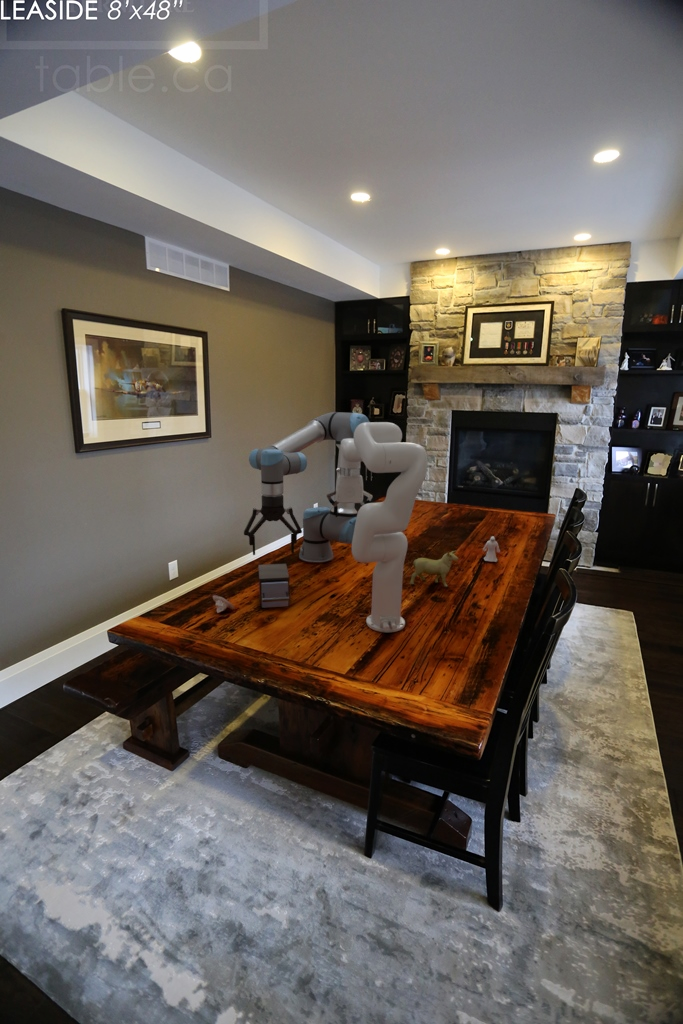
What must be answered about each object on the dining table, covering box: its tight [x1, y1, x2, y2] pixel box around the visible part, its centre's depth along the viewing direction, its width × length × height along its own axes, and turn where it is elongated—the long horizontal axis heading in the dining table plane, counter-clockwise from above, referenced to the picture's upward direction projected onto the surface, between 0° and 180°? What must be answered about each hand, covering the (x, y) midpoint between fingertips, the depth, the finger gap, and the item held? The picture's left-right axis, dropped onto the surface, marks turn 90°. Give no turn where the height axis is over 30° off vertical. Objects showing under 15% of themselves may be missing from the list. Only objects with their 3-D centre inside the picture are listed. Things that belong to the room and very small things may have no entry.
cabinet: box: [258, 563, 290, 609], centre depth 179 cm, size 14×10×11 cm
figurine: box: [482, 535, 501, 563], centre depth 223 cm, size 8×8×12 cm
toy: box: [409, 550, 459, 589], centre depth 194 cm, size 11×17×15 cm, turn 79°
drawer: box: [261, 580, 290, 608], centre depth 173 cm, size 18×9×9 cm, turn 11°
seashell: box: [212, 594, 235, 614], centre depth 169 cm, size 8×5×8 cm
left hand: (273, 553), depth 178 cm, fingers open, 13 cm apart
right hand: (349, 516), depth 190 cm, fingers open, 9 cm apart
